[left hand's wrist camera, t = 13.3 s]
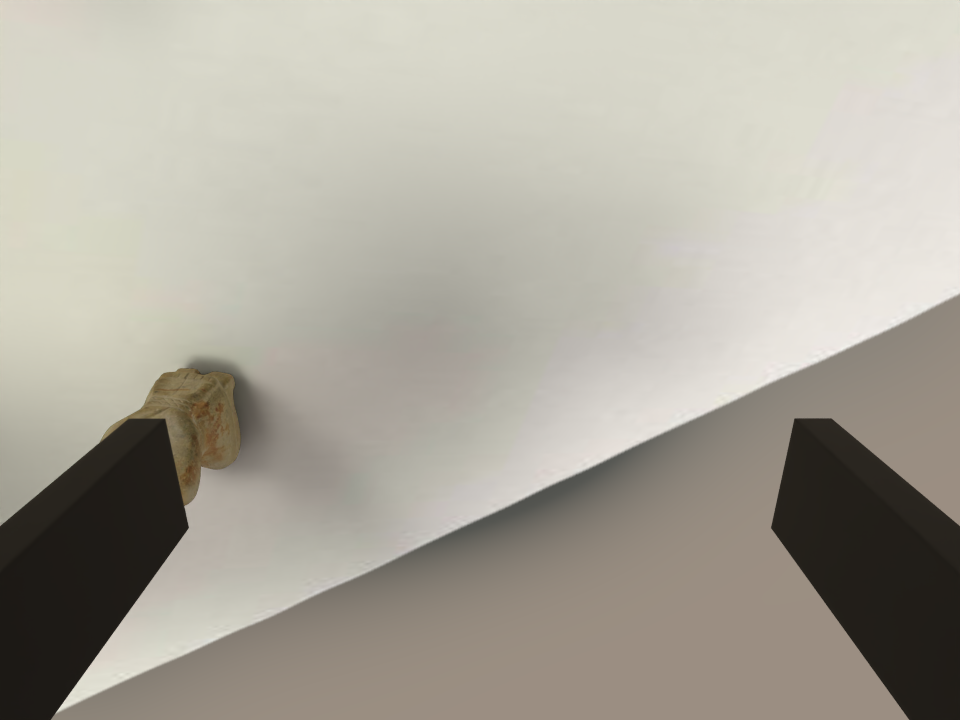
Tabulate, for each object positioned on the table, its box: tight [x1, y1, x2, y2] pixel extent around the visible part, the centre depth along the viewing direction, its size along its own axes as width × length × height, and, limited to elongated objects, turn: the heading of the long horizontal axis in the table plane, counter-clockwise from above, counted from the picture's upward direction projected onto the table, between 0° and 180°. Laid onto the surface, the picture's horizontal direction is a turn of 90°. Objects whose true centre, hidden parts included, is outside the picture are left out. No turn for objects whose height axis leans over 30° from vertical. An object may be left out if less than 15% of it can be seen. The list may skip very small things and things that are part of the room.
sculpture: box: [100, 368, 241, 506], centre depth 33 cm, size 6×7×15 cm
